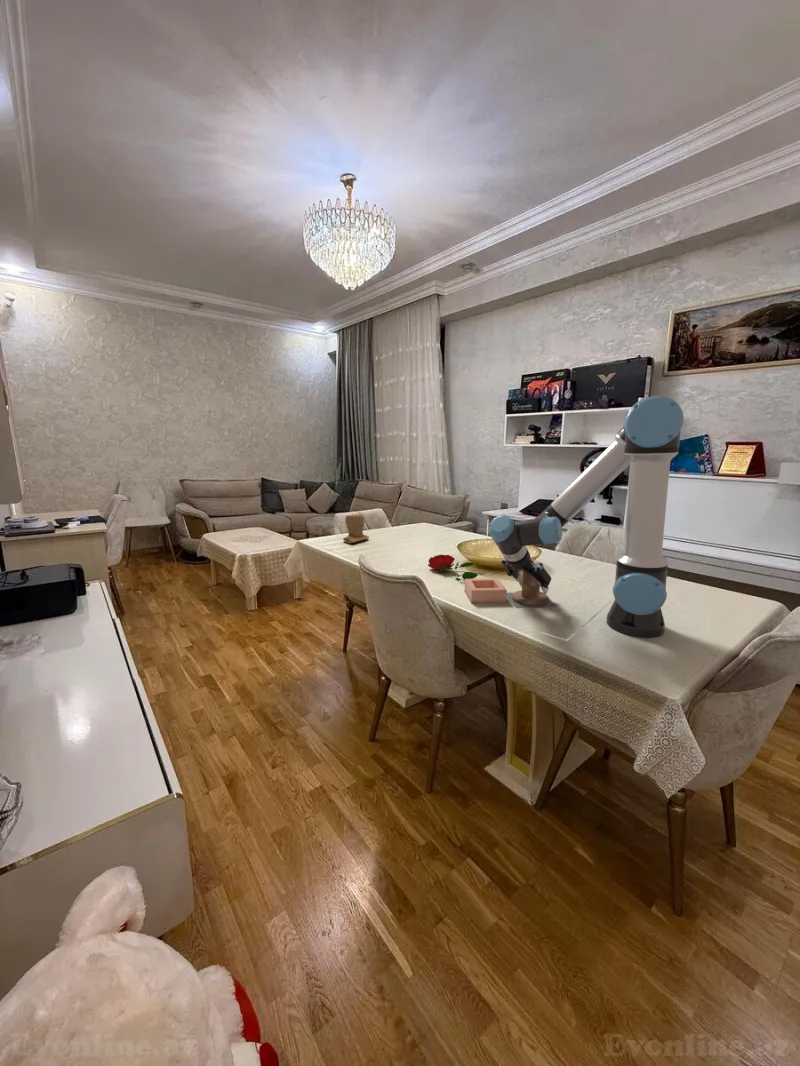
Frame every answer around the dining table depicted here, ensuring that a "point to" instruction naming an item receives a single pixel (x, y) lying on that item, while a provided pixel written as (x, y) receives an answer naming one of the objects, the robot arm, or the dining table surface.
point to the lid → (530, 592)
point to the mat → (517, 605)
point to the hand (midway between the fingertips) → (535, 587)
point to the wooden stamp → (355, 528)
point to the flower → (450, 565)
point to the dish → (485, 590)
